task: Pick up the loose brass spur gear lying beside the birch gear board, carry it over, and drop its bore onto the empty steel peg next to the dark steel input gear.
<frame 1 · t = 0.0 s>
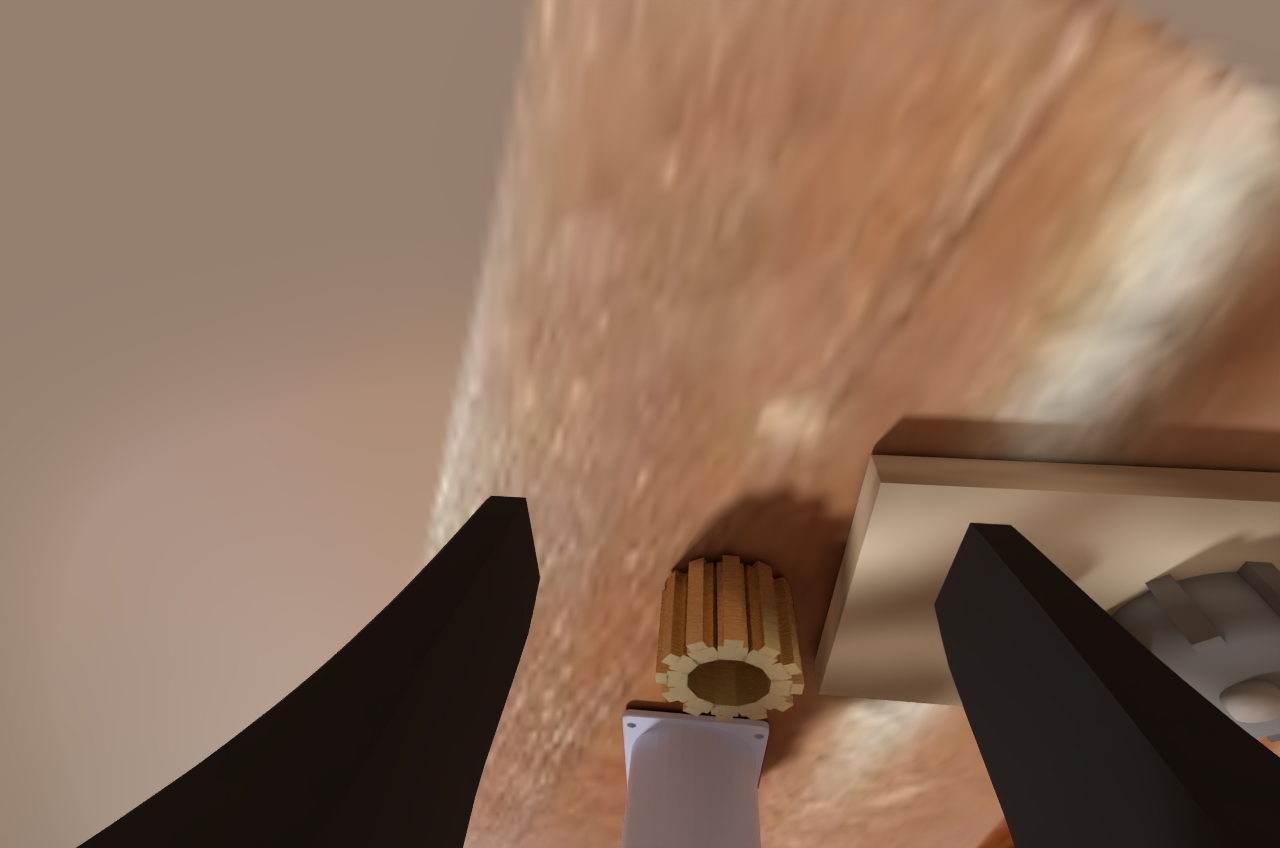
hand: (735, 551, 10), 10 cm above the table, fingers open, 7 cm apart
gear board: (1053, 589, 24), on the table
brass gear: (726, 599, 26), on the table
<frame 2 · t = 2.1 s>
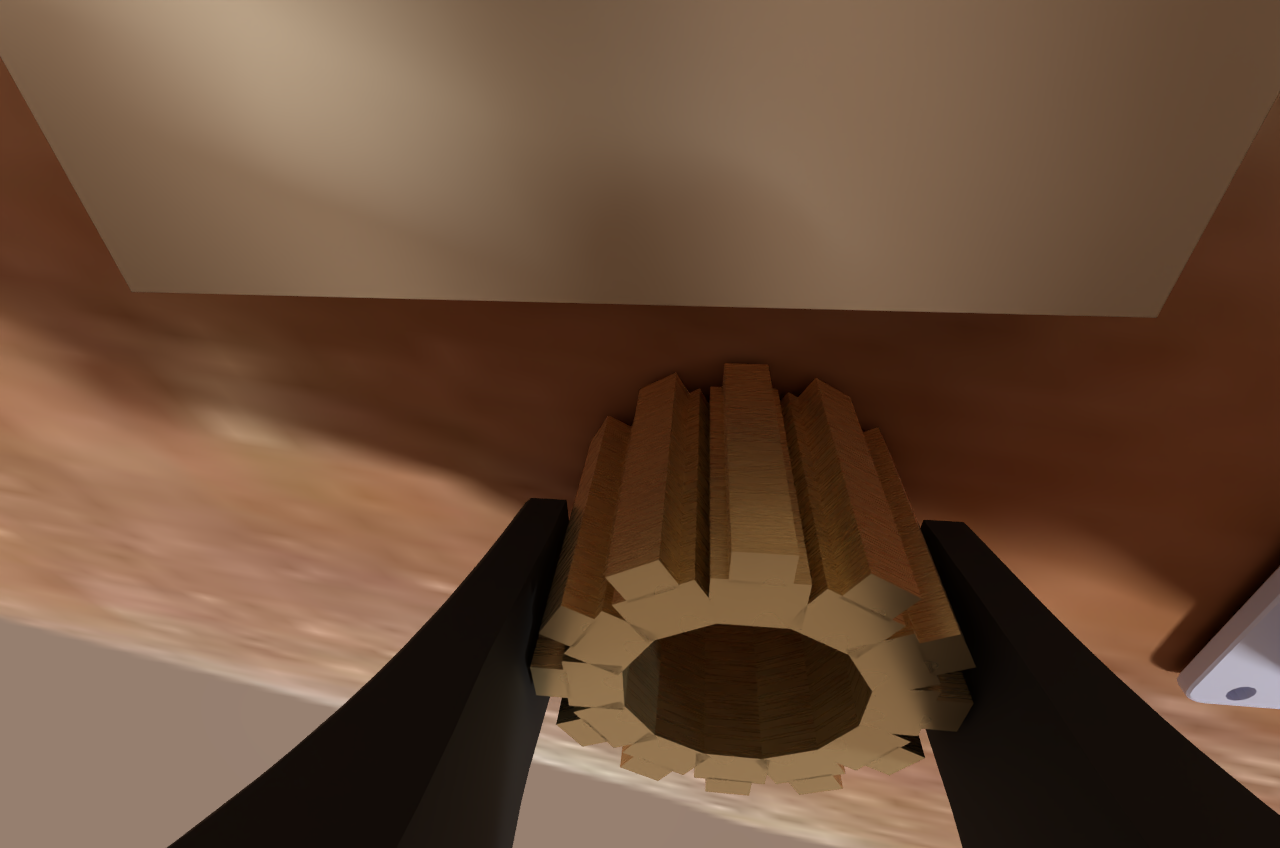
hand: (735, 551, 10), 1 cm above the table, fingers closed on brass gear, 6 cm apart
brass gear: (732, 495, 11), on the table, touching gripper
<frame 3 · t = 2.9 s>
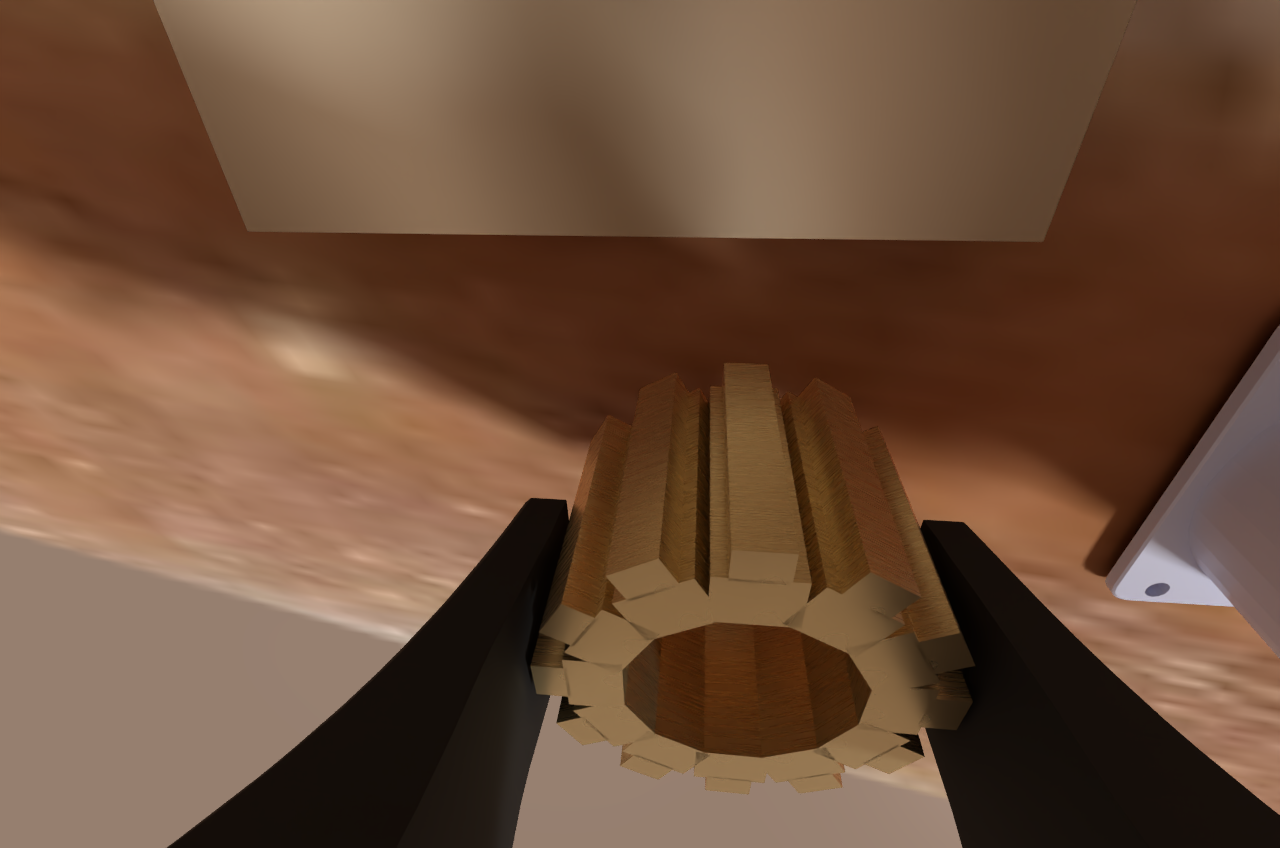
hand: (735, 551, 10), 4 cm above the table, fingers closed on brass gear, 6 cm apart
brass gear: (732, 494, 11), point 3 cm above the table, touching gripper
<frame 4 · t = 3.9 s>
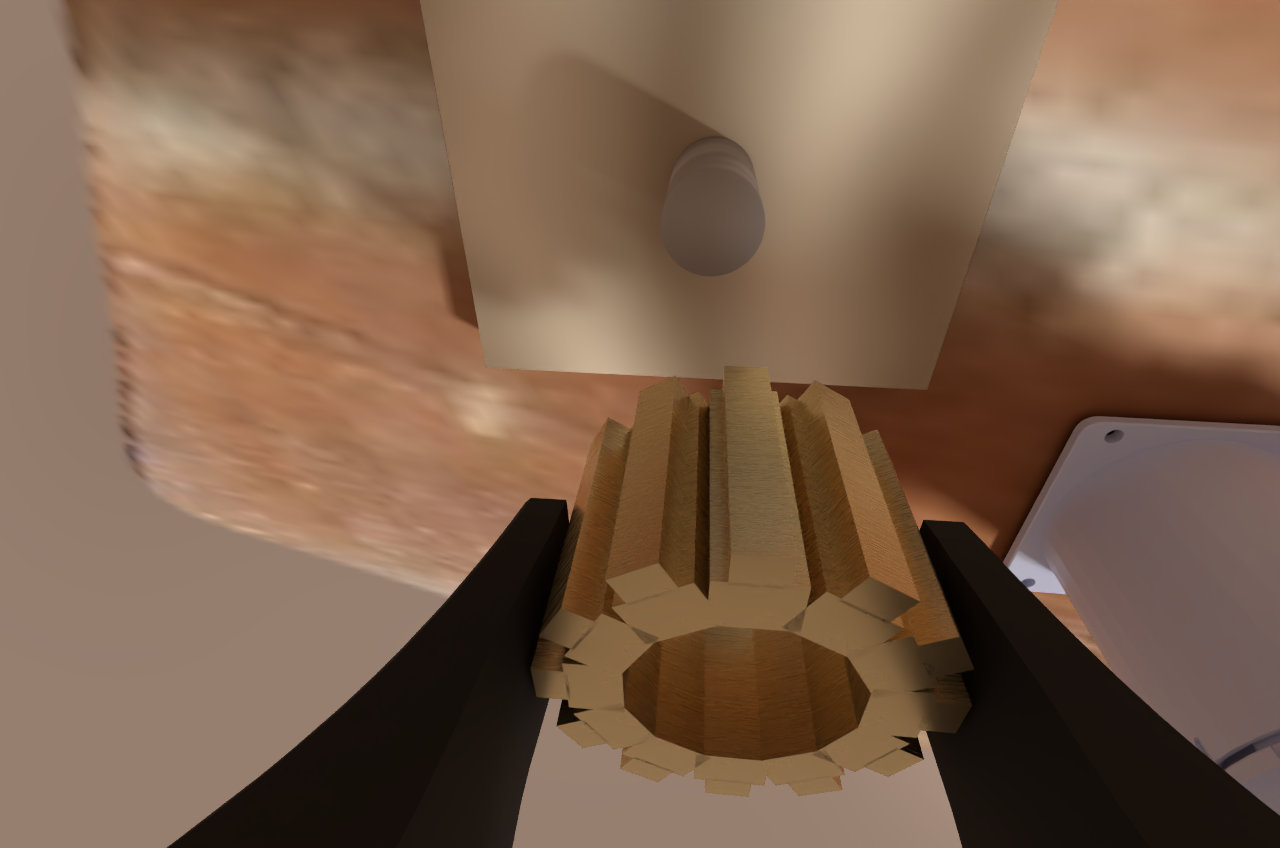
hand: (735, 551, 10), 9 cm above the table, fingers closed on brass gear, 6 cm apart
gear board: (721, 29, 13), on the table
brass gear: (732, 497, 11), point 8 cm above the table, touching gripper
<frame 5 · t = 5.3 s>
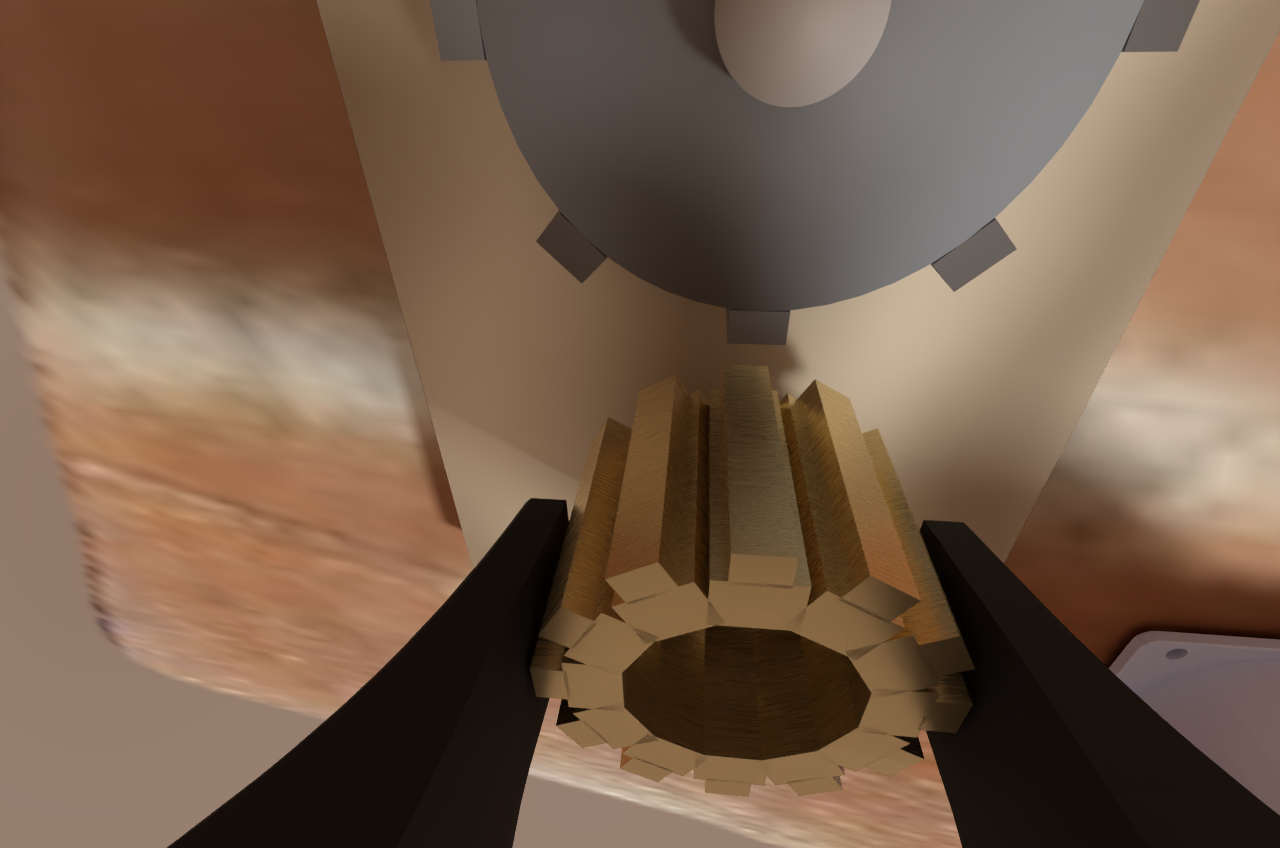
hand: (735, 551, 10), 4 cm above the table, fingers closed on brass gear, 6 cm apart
gear board: (740, 282, 12), on the table
brass gear: (732, 496, 11), point 3 cm above the table, touching gripper
when the fingers open (4 cm above the table, at t = 6.1 s): brass gear stays where it is, resting on gear board.
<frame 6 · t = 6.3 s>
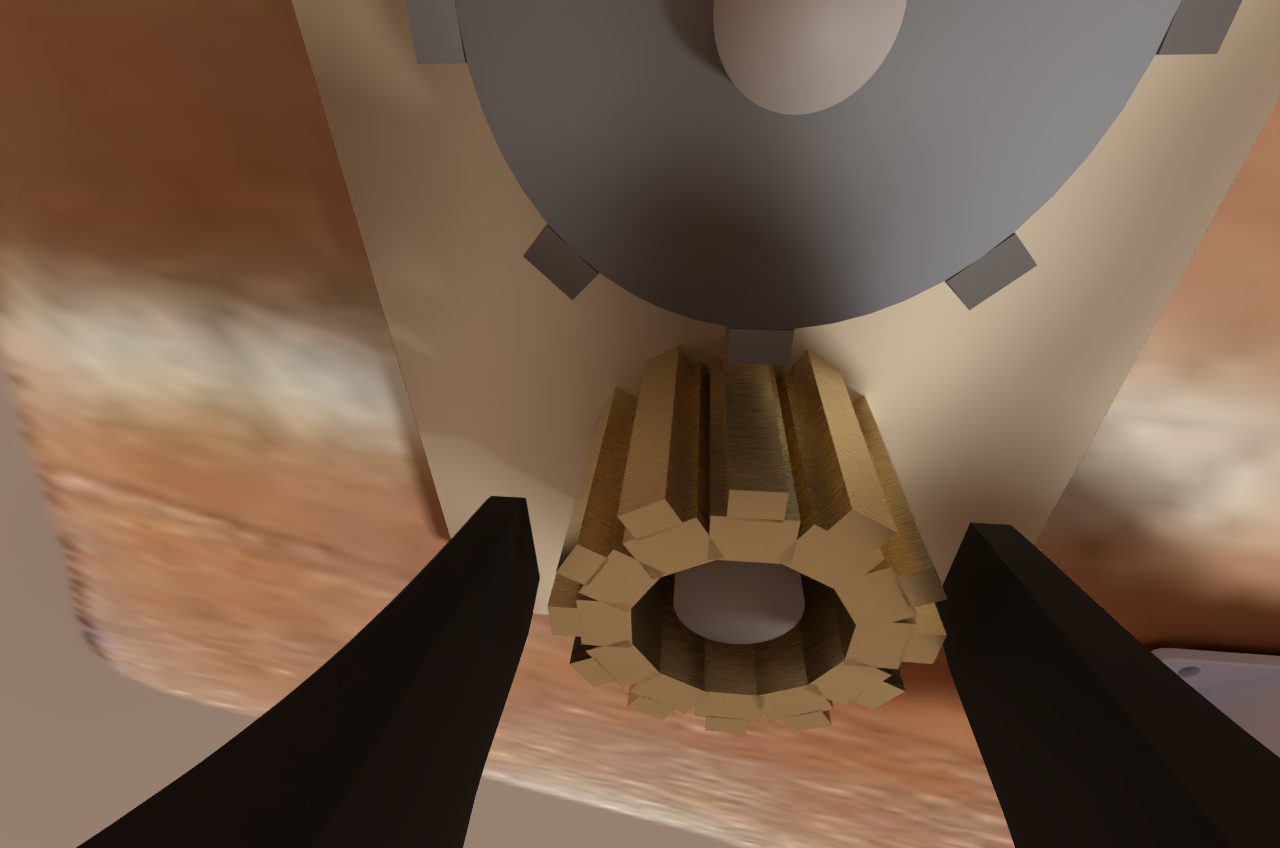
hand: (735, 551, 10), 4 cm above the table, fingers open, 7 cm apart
gear board: (740, 292, 11), on the table
brass gear: (731, 462, 12), point 1 cm above the table, touching gear board
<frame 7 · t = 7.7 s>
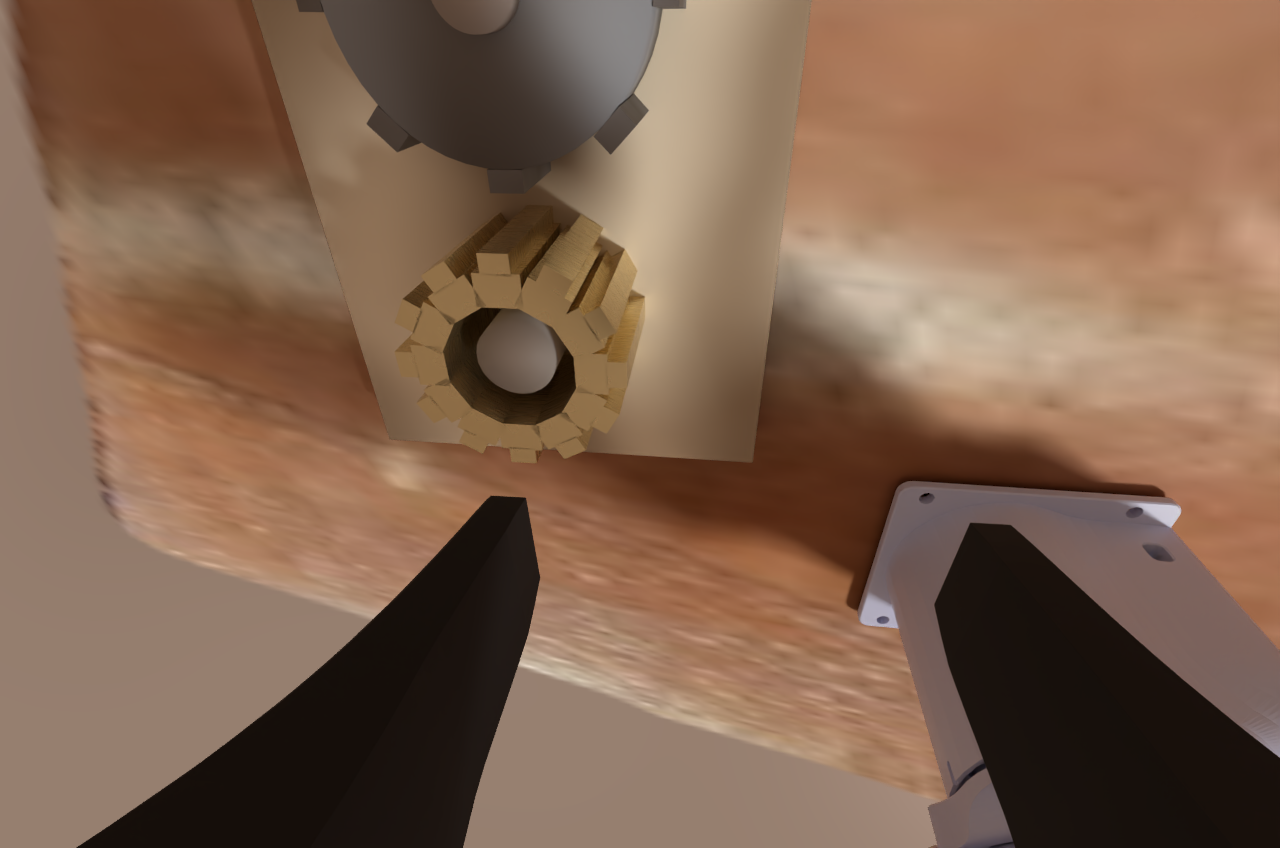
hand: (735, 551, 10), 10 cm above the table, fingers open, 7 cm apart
gear board: (552, 185, 17), on the table
brass gear: (550, 304, 17), point 1 cm above the table, touching gear board
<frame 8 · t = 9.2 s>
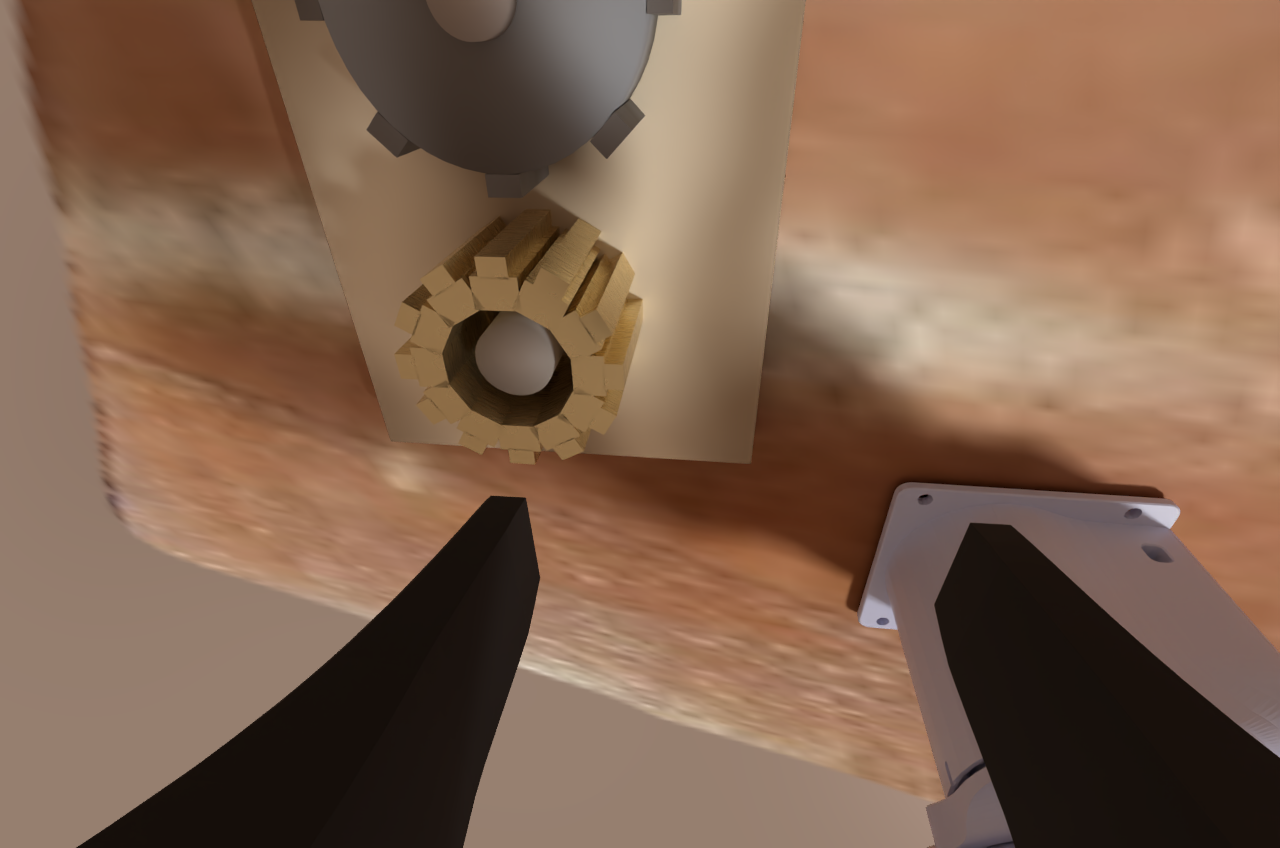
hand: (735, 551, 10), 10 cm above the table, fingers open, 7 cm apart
gear board: (551, 189, 17), on the table
brass gear: (548, 307, 17), point 1 cm above the table, touching gear board
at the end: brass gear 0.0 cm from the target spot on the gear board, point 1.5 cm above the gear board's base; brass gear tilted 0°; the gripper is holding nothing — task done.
